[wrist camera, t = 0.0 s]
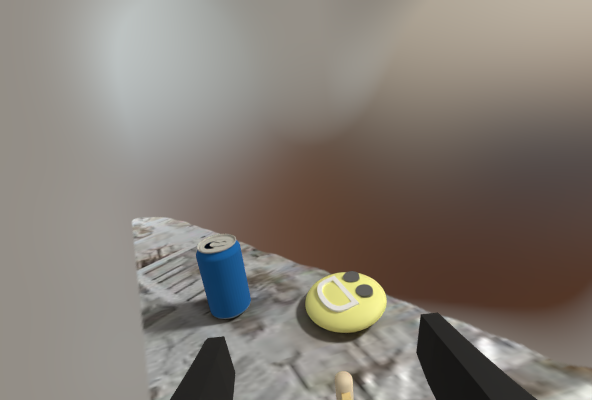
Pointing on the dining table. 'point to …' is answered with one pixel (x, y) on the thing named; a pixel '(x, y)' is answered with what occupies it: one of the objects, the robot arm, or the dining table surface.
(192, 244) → the dining table surface
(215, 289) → the beverage can
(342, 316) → the emoji
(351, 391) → the fence panel
